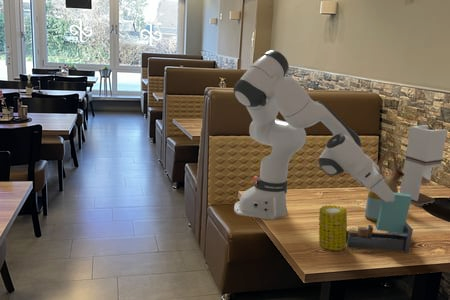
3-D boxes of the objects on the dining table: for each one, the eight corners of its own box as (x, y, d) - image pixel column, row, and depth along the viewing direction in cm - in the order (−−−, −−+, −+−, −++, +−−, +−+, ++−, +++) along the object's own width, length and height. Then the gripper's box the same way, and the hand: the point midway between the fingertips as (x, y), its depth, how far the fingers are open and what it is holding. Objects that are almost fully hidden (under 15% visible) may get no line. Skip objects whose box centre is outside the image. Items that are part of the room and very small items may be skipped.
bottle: (383, 222, 176) (388, 188, 173) (365, 220, 178) (370, 186, 174) (381, 216, 183) (386, 182, 179) (364, 214, 184) (368, 180, 180)
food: (338, 258, 148) (312, 249, 154) (354, 241, 156) (329, 233, 162) (336, 220, 142) (310, 212, 149) (353, 204, 150) (327, 197, 156)
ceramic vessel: (404, 208, 193) (413, 154, 186) (390, 212, 188) (399, 156, 182) (375, 196, 206) (382, 146, 200) (362, 199, 202) (369, 147, 196)
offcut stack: (348, 245, 155) (350, 225, 153) (346, 242, 157) (349, 223, 155) (370, 246, 154) (373, 227, 152) (368, 244, 156) (371, 225, 155)
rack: (348, 248, 152) (351, 225, 150) (343, 238, 160) (346, 216, 157) (408, 253, 151) (412, 229, 149) (401, 243, 159) (404, 220, 156)
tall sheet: (377, 230, 153) (385, 193, 149) (375, 227, 155) (383, 191, 151) (402, 233, 153) (411, 196, 149) (400, 230, 155) (409, 194, 151)
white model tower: (418, 206, 197) (431, 131, 188) (398, 198, 206) (410, 126, 197) (434, 202, 202) (447, 129, 194) (414, 195, 211) (426, 125, 203)
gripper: (351, 167, 159) (375, 192, 162) (366, 188, 140) (393, 216, 142) (364, 156, 158) (389, 181, 160) (381, 175, 138) (409, 203, 140)
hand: (391, 198), depth 151 cm, fingers closed on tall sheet, 2 cm apart
